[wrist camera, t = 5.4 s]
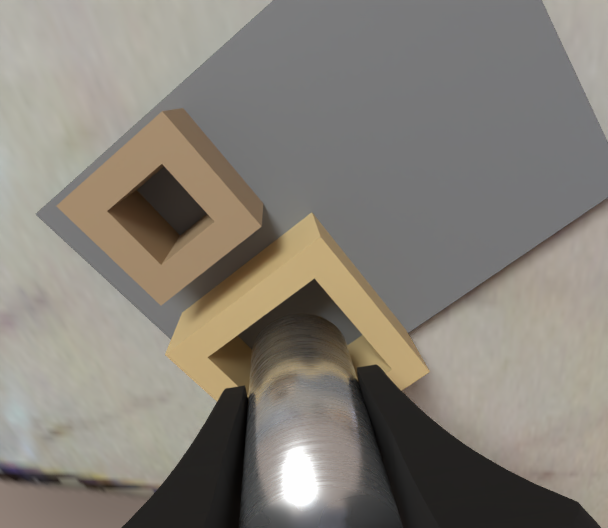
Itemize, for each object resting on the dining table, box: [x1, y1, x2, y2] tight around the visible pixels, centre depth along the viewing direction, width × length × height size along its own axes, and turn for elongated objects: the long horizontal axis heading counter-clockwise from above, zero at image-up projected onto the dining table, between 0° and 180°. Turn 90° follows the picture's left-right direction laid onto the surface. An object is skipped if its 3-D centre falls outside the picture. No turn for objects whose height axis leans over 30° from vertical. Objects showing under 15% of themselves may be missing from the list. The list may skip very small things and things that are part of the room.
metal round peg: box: [239, 313, 403, 528], centre depth 12 cm, size 3×3×7 cm
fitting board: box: [36, 0, 608, 401], centre depth 15 cm, size 13×18×4 cm
